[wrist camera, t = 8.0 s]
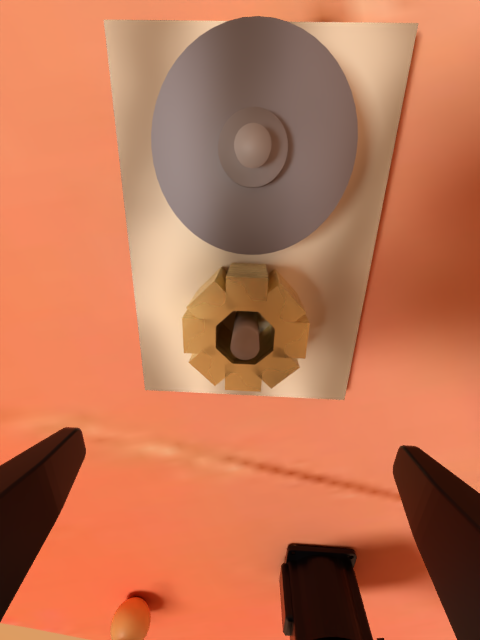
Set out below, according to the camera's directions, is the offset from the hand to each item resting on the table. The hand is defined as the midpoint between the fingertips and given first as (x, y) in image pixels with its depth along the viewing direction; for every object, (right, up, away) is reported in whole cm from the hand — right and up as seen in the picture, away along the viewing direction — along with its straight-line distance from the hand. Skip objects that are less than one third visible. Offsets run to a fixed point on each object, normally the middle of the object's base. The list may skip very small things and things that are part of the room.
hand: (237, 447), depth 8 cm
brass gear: (+1, +4, +10) cm, 11 cm away
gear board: (+1, +8, +10) cm, 13 cm away
